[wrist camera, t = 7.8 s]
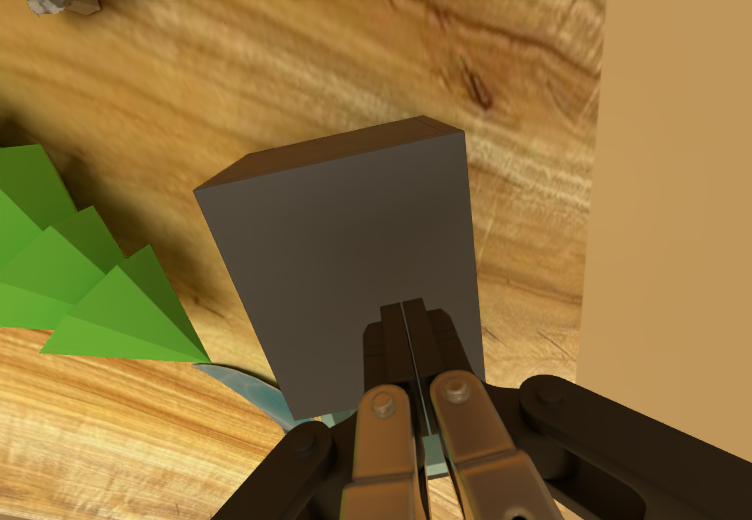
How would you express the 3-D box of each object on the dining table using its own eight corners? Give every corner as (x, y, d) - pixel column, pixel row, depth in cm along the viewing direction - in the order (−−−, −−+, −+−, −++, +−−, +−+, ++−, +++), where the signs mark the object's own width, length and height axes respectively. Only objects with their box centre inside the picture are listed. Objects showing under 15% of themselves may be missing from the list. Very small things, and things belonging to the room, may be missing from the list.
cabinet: (448, 301, 31) (485, 383, 23) (309, 330, 32) (294, 421, 23) (424, 115, 24) (464, 130, 16) (246, 154, 25) (192, 190, 16)
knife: (226, 336, 32) (192, 361, 33) (218, 348, 30) (183, 374, 32) (377, 459, 39) (343, 475, 41) (376, 474, 38) (341, 490, 39)
